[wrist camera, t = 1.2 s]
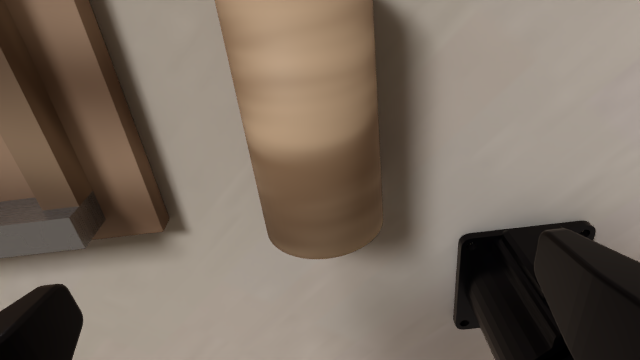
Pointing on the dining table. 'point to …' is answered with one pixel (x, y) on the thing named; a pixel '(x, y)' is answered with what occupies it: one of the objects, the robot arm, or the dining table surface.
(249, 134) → the tan wooden cylinder
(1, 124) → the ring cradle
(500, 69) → the dining table surface
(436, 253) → the dining table surface
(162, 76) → the dining table surface
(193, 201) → the dining table surface
